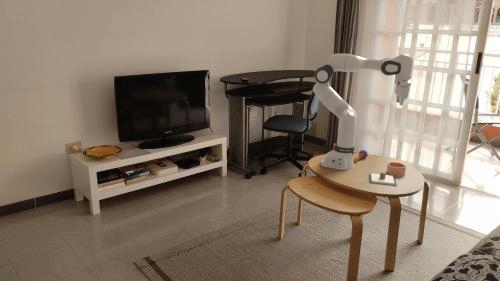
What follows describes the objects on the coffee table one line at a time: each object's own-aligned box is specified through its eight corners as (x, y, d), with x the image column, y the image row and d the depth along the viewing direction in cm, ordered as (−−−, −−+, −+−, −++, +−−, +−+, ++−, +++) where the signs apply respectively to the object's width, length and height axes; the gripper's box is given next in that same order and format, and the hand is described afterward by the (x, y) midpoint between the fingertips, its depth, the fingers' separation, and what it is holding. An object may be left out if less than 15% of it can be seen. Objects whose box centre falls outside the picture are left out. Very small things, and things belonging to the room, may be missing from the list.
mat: (368, 183, 231) (368, 183, 231) (368, 174, 245) (368, 173, 245) (397, 187, 227) (397, 186, 227) (394, 177, 241) (394, 176, 241)
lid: (371, 182, 232) (372, 175, 230) (370, 175, 244) (371, 168, 242) (394, 185, 228) (395, 178, 227) (392, 177, 240) (393, 170, 239)
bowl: (387, 175, 244) (388, 166, 242) (386, 169, 254) (387, 161, 252) (405, 177, 241) (406, 168, 240) (403, 171, 251) (404, 163, 250)
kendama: (348, 157, 265) (360, 148, 280) (349, 165, 267) (361, 156, 281) (356, 157, 261) (368, 149, 276) (357, 166, 263) (369, 157, 277)
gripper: (393, 79, 245) (391, 100, 249) (400, 83, 226) (397, 106, 230) (404, 79, 244) (401, 101, 248) (411, 84, 225) (408, 107, 229)
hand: (399, 103), depth 239 cm, fingers open, 8 cm apart
